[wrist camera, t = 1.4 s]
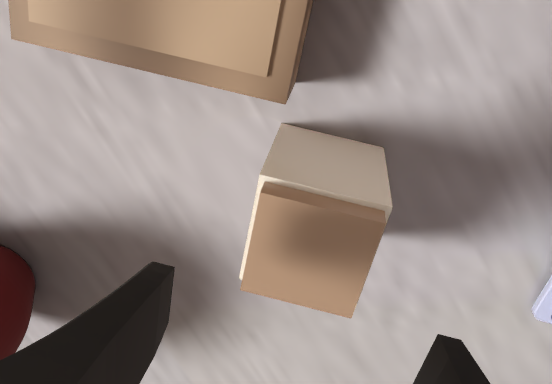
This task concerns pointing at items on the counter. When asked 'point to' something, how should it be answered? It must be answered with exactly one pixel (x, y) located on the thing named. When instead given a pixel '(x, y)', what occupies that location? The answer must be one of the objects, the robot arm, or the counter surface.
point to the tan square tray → (178, 38)
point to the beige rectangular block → (316, 220)
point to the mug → (14, 300)
